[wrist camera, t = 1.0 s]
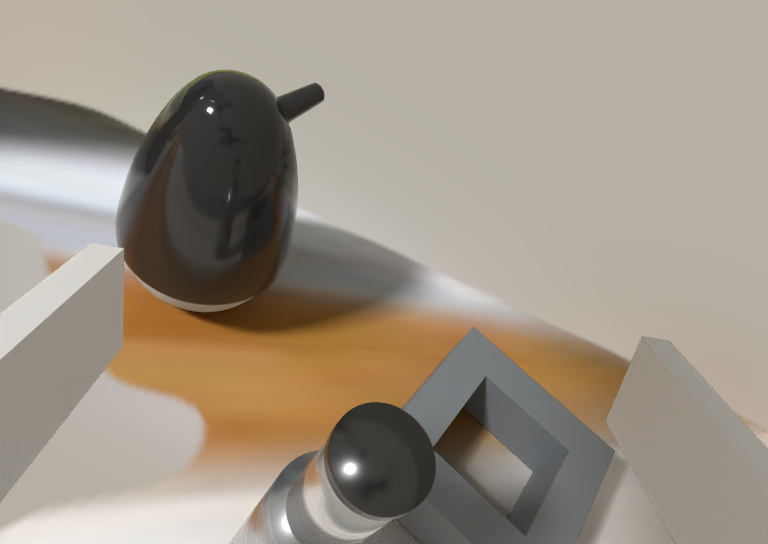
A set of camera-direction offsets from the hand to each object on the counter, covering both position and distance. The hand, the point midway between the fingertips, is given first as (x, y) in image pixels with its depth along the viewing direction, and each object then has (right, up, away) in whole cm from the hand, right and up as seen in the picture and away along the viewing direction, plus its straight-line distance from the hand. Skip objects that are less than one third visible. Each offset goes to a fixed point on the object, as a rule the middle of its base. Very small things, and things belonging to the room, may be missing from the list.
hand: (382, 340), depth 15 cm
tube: (-6, -13, +15) cm, 21 cm away
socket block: (+6, -11, +22) cm, 26 cm away
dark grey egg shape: (-12, +2, +24) cm, 27 cm away
